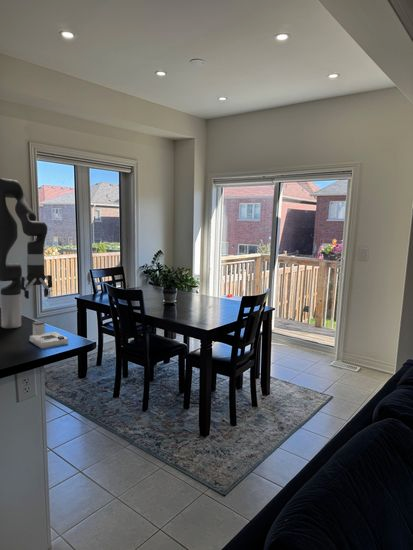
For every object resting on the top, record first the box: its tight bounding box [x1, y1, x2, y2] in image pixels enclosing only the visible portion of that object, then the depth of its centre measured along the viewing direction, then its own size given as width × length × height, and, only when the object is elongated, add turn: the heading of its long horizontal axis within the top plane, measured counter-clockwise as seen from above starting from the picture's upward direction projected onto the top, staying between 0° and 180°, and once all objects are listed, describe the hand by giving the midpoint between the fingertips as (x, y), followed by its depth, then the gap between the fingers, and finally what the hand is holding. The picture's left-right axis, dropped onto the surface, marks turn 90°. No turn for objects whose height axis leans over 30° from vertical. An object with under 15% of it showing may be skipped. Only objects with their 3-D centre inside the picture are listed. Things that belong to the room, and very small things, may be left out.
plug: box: [32, 320, 46, 335], centre depth 182 cm, size 4×4×7 cm
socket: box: [29, 331, 69, 350], centre depth 174 cm, size 14×12×3 cm
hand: (36, 297), depth 181 cm, fingers open, 8 cm apart
